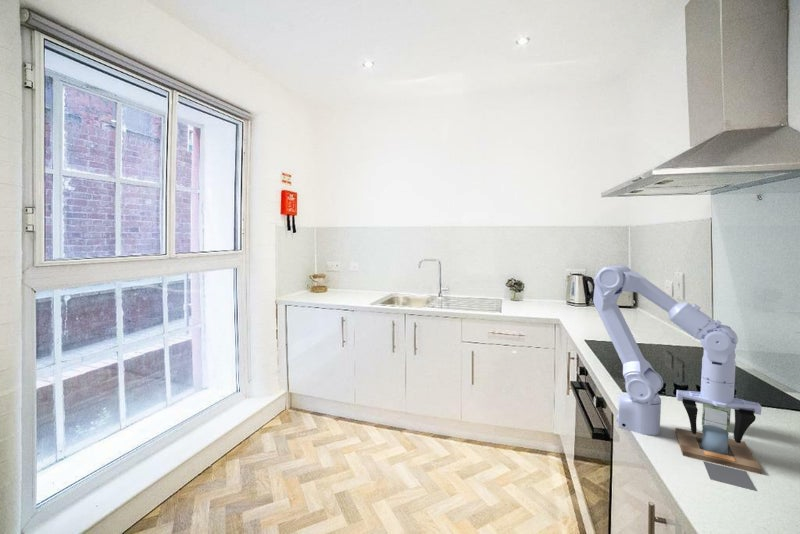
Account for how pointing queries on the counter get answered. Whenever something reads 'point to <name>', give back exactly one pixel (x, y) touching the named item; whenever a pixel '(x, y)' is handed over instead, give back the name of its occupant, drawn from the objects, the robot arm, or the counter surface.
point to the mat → (729, 476)
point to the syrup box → (716, 416)
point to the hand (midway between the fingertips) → (714, 436)
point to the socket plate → (738, 451)
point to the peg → (714, 439)
